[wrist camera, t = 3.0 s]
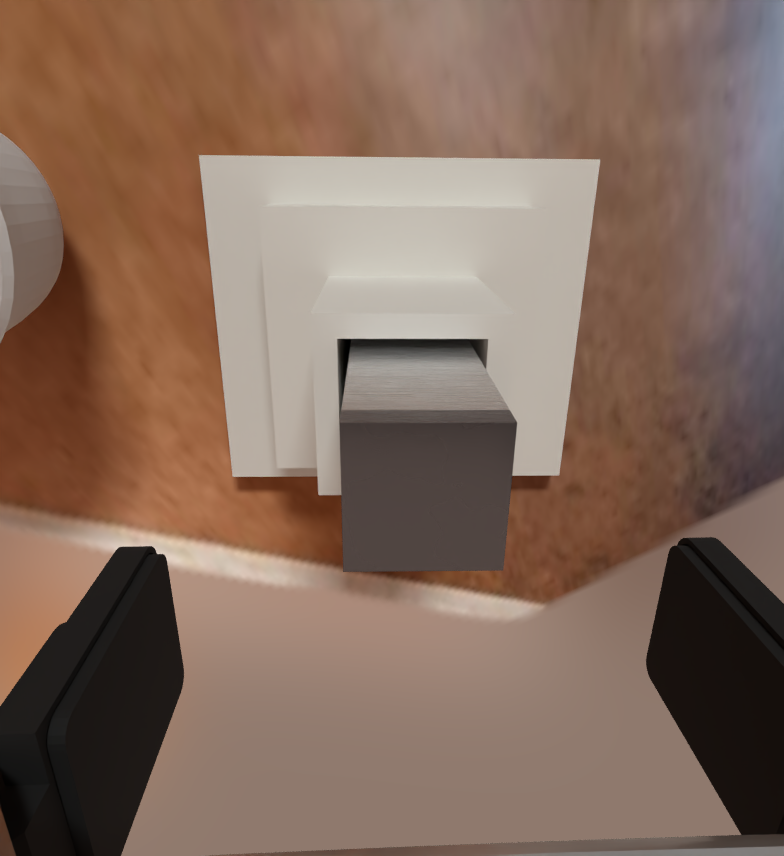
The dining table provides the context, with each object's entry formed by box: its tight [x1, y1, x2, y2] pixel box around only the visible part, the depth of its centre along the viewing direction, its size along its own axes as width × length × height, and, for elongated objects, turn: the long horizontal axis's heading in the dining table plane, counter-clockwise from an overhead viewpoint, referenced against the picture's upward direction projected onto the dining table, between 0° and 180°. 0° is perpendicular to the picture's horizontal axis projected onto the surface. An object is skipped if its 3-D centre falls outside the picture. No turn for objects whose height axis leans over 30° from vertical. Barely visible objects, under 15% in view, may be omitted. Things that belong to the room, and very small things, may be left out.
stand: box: [199, 155, 600, 572], centre depth 25 cm, size 18×16×13 cm
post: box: [339, 339, 517, 572], centre depth 22 cm, size 4×4×17 cm
